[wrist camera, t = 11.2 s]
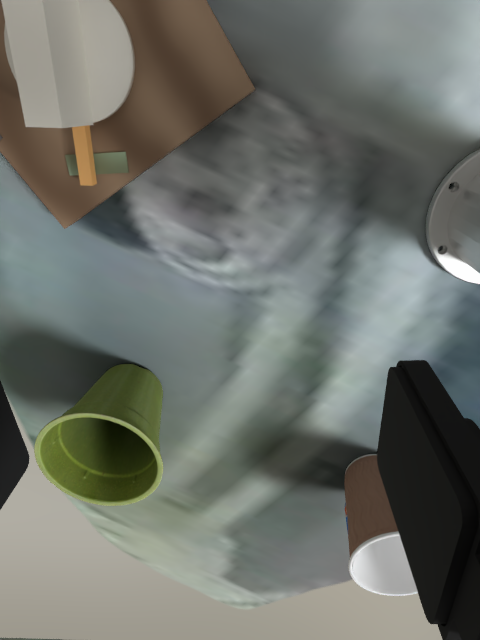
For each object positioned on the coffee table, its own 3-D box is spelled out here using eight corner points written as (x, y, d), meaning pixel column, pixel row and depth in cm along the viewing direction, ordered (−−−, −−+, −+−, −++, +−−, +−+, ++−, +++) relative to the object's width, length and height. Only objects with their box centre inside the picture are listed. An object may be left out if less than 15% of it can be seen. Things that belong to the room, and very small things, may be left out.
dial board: (108, -177, 27) (93, -205, 24) (255, 90, 33) (254, 88, 31) (-82, 28, 32) (-109, 22, 30) (75, 221, 39) (63, 229, 37)
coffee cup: (314, 478, 53) (327, 571, 42) (369, 429, 49) (399, 519, 38) (374, 511, 55) (401, 608, 45) (432, 467, 51) (476, 561, 41)
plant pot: (61, 387, 48) (9, 460, 38) (123, 325, 44) (82, 390, 34) (140, 443, 52) (111, 524, 42) (204, 391, 47) (189, 467, 37)
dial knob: (-2, -24, 28) (-69, -58, 22) (128, -21, 28) (94, -54, 22) (37, 181, 34) (-8, 196, 29) (144, 185, 34) (120, 201, 28)
